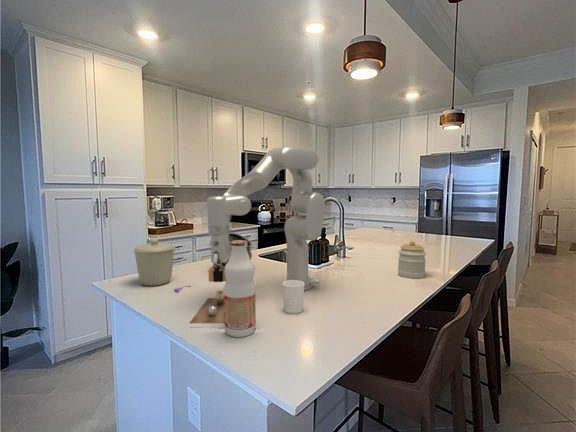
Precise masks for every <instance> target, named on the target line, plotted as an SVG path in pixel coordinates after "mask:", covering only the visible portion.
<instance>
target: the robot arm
mask: <svg viewBox="0 0 576 432" xmlns="http://www.w3.org/2000/svg"><path fill="white" fill-rule="evenodd" d="M319 161H320V160H319V154H318V153H317V151H316V150H315V149H312V148H310V147H309V148H308V147H307V148H306V147H295V146H294V147H292V146H284V147H277V148H272V149H270V150H269V151H267V152H266V154H265V155H264V156H263V157H262V158H261V160H260V161H259V162H258V163H257V164H256V165H255V166H254V167H253V168H252V170H251V171H249V172H248V173H246V174H245V175H244V176H243V177H241V178H240V179H239V180H237V181H236V182H234V184H232V185H231V186H230V187H229V188H228V189H227V190H226V191H225V192H224V194H223V195H221V196H220V195H218V196H214V195H213V196H209V197H208V198H207V201H206V207H207V209H206V210H207V229H208V230H207V233H208V236H210V259H211V260H210V261H211V263H212V266H213V278H214V282H213V283H222V282H224V281H223V271H222V266H225V265H226V264H227V260H228V259H229V258H230V252H229V240H228V235H229V234H230V231H231V229H230V230H229V227H230V216H237V217H238V216H245V215H247V214H248V213H249V212H250V211H251V209H252V202H251V200H250V199H249V197H248V196H250V195H251V194H253V193H256V192H258V191H260V190H263V189H265V188H266V187H267V186H269V184H270V183H271V182H272V181H273V180H274V178H276V176H277V175H278V174H279V173H280V171H282V170H288V171H289V173H290V174H291V178H292V180H293V181H292V183H293V184H292V192H291V199H290V208H291V210H292V211H293V212H294V213H296V214H304V215H305V216H300V215H299V216H298V215H295V216H291V217H289V218H288V219H286V221H285V223H284V234H285V239H286V281H288V280H298V281H302V282H304V292H305V291H308V290H311V288H312V286H313V285H312V284H314V285H317V284H319V283H320V282H319V281H320V280H319V278H318V279H316V278H310V275H309V243H308V242H307V241H315V240H317V239H319V237H320V236H321V234H322V230H323V226H324V216H325V209H326V208H325V206H326V205H325V203H326V202H325V200H324V196H323V195H322V194H321V193H319V192H316V191H313V178H312V174H311V172H310V171H309V170H313V169H314V168H316V167H317V166H318V164H319ZM218 261H219V262H218ZM219 266H220V267H219Z"/></svg>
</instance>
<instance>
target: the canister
mask: <svg viewBox="0 0 576 432" xmlns="http://www.w3.org/2000/svg"><path fill="white" fill-rule="evenodd" d="M149 240H150V241H149V243H144V244H139V245H138V246H136V247H135V248H133V249H132V251H133V252H134V257H135V263H136V269H137V274H138V279H139V282H140V284H142V285H143V286H148V287H153V286H161V285H165V284H167V283H169V281H171V279H172V273H173V267H174V266H173V265H174V256H175V255H174V253H175V249H176V245H173V244H172V243H169V242H159V239H158V238H157V237H153V238H151V239H149Z"/></svg>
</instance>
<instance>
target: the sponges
mask: <svg viewBox="0 0 576 432" xmlns="http://www.w3.org/2000/svg"><path fill="white" fill-rule="evenodd" d="M184 288H193V286H192V285H190V284H189V285H184V286H181V287H176V288H174V289H173V290H174V293H177V294H178V293H180V292H181V291H183V289H184Z"/></svg>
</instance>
